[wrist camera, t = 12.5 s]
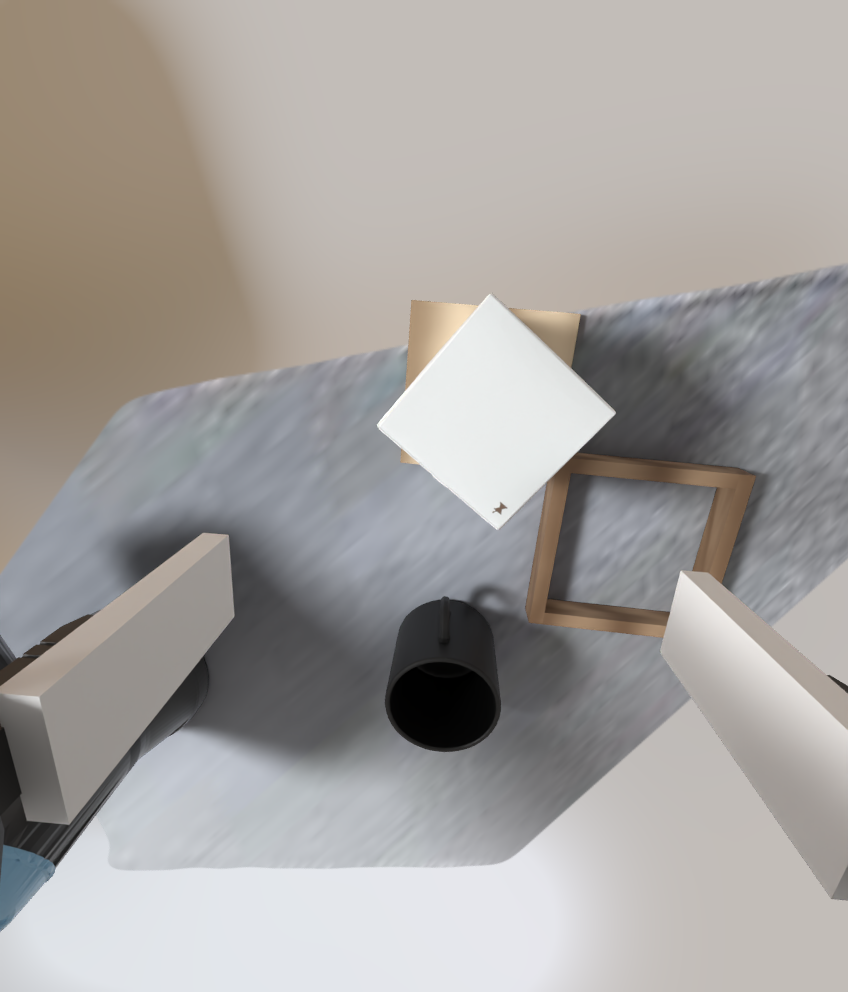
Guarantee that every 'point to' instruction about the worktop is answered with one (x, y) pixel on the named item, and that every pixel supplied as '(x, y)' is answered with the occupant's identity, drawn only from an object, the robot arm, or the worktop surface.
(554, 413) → the supplement box
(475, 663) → the mug
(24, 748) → the robot arm
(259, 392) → the worktop surface
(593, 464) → the walnut frame
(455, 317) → the light wooden block
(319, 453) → the worktop surface
